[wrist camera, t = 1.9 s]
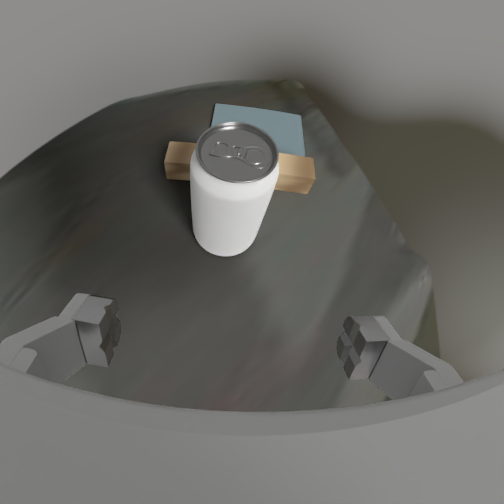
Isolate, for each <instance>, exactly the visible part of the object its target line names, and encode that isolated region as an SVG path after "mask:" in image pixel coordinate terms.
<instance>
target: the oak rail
mask: <svg viewBox="0 0 504 504" xmlns="http://www.w3.org/2000/svg"><path fill="white" fill-rule="evenodd" d="M196 144H197V143H187V142H171V141H170V143H169V146H168V150H167V153H166V157H165V161H164V165H165V171H166V178H167V179H175V180H188V181H190V161H191V157H192V154H193V152H194V150H195V148H196ZM278 163H279V175H278V179H277V182H276V185H275V188H274V190H282V191H289V192H296V193H303V194H307V193H308V191H309V190H310V188H311V186H312V184H313V183H314V181H315V170H314V161H313V158H309V157H303V156H297V155H291V154H285V153H279V158H278Z"/></svg>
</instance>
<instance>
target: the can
mask: <svg viewBox="0 0 504 504" xmlns="http://www.w3.org/2000/svg"><path fill="white" fill-rule="evenodd" d="M278 158H279V152H278V148H277V145H276V143H275V142H274V140H273V139H272V137H271V136H270V135H269V134H267V133H266V132H265V131H264V130H262V129H260V128H258V127H256V126H254V125H251V124H248V123H243V122H224V123H220V124H217V125H214V126H212V127H210V128H209V129H207V130H206V131H205V132H204V133H203V134H202V135H201V136H200V137H199V139H198V141H197V144H196V148H195V150H194V152H193V154H192V157H191V161H190V188H191V208H192V223H193V232H194V235H195V238H196V240H197V242H198V243H199V244H200V245H201V247H203V248H204V249H205V250H206V251H208V252H210V253H212V254H215V255H218V256H233V255H237V254H239V253H242V252H243V251H245V250H246V249H247V248H248V247H249V246H250V245H251V244H252V243H253V241H254V239H255V237H256V235H257V232H258V230H259V227H260V225H261V222H262V220H263V217H264V214H265V212H266V209H267V207H268V204H269V201H270V199H271V196H272V193H273V191H274V188H275V185H276V182H277V179H278V175H279V163H278Z"/></svg>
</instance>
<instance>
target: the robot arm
mask: <svg viewBox="0 0 504 504" xmlns="http://www.w3.org/2000/svg"><path fill="white" fill-rule="evenodd" d="M118 310H119V309H118V303H117V300H116V299H113V298H107V297H101V296H96V295H90V294H84V293H76V294H75V296H74V297H73V298H72V299H71V301H70V302H69V303H68V305H67V306H66V307H65V308H64V310H63V311H62V312H61V314H60V315H59V316H58V317H56V316H54V317H52V318H50V319H47V320H45V321H43V322H41V323H38V324H36V325H34V326H32V327H29V328H27V329H25V330H23V331H21V332H18V333H16V334H14V335H12V336H10V337H7V338H5V339H4V340H3V341H2V342H1V344H0V504H504V369H502V370H499V371H497V372H494V373H491V374H489V375H486V376H483V377H480V378H477V379H474V380H471V381H468V382H463V380H462V379H461V378H460V377H459V375H458V374H457V372H456V371H455V370H454V369H453V367H452V366H451V365H450V364H448V363H446V362H444V361H442V360H441V359H439V358H437V357H435V356H433V355H432V354H430V353H428V352H426V351H424V350H423V349H421V348H419V347H417V346H415V345H414V344H412V343H410V342H408V341H406V340H402V339H401V338H400V336H399V335H398V334H397V332H396V331H395V330H394V328H393V327H392V326H391V324H390V323H389V322H388V320H387V319H386V318H385V317H384V316H355V317H347V318H346V319H345V321H344V324H343V327H344V330H345V331H344V332H343V333H341V334H340V335H339V338H338V341H337V354H338V357H339V359H340V360H341V361H343V362H344V363H345V365H344V367H343V368H344V370H345V372H346V375H347V377H348V379H349V380H356V379H369V380H370V381H371V382H372V383H373V384H374V385H376V386H377V387H378V388H379V389H380V390H381V391H383V392H384V393H385V394H386V395H387V396H388V397H390V398H391V399H392V400H390V401H385V402H379V403H373V404H366V405H359V406H351V407H342V408H333V409H321V410H307V411H284V412H235V411H214V410H200V409H188V408H179V407H170V406H162V405H155V404H148V403H142V402H136V401H130V400H125V399H119V398H114V397H110V396H105V395H100V394H96V393H92V392H88V391H84V390H80V389H76V388H72V387H69V386H65V385H61V383H63V382H64V381H65V380H66V379H68V378H69V377H70V376H72V375H73V374H74V373H76V372H77V371H78V370H79V369H81V368H82V367H83V366H85V365H86V363H89V364H94V365H100V366H106V367H108V366H109V364H110V362H111V359H112V357H113V354H114V353H113V348H114V347H116V346H117V345H118V342H119V339H120V334H121V324H120V320H119V318H118V317H117V316H116V314H117V312H118Z"/></svg>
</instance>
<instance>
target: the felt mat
mask: <svg viewBox="0 0 504 504" xmlns="http://www.w3.org/2000/svg"><path fill="white" fill-rule="evenodd" d="M224 122H243V123H248V124H251V125H254V126H256V127H258V128H260V129H262V130H264V131H265V132H266V133H267V134H269V135H270V136H271V137H272V139H273V140H274V142H275V143H276V145H277V148H278V152H279V153H285V154H291V155H297V156H303V157H305V151H304V141H303V132H302V123H301V116H300V115H295V114H290V113H284V112H278V111H272V110H265V109H258V108H251V107H243V106H235V105H225V104H216V105H215V110H214V115H213V120H212V125H211V127H212V126H214V125H217V124H220V123H224Z"/></svg>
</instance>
